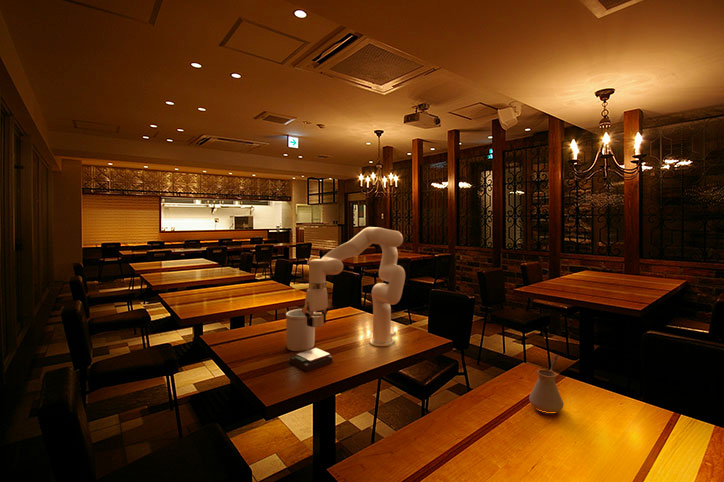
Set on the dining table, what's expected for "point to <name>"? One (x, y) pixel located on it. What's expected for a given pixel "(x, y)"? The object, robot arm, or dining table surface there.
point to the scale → (309, 365)
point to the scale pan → (313, 354)
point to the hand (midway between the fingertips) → (316, 324)
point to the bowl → (317, 319)
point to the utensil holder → (299, 331)
